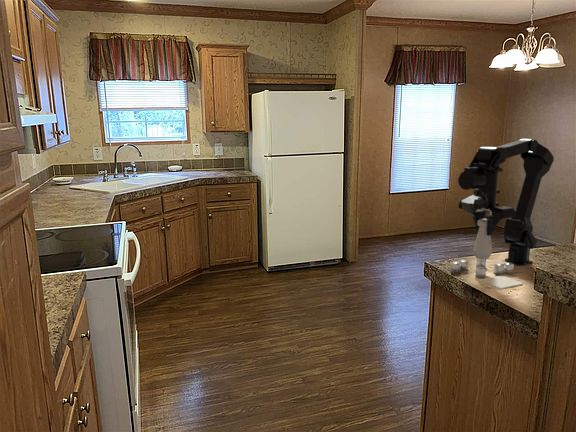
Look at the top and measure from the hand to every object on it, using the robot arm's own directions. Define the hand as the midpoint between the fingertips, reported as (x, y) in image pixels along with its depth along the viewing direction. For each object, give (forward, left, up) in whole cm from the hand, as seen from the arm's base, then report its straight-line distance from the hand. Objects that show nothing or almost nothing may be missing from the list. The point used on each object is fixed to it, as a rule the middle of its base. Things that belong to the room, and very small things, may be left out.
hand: (483, 234), depth 148 cm
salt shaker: (0, 0, -8) cm, 8 cm away
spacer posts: (0, 0, -13) cm, 13 cm away
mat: (+2, +10, -13) cm, 17 cm away
